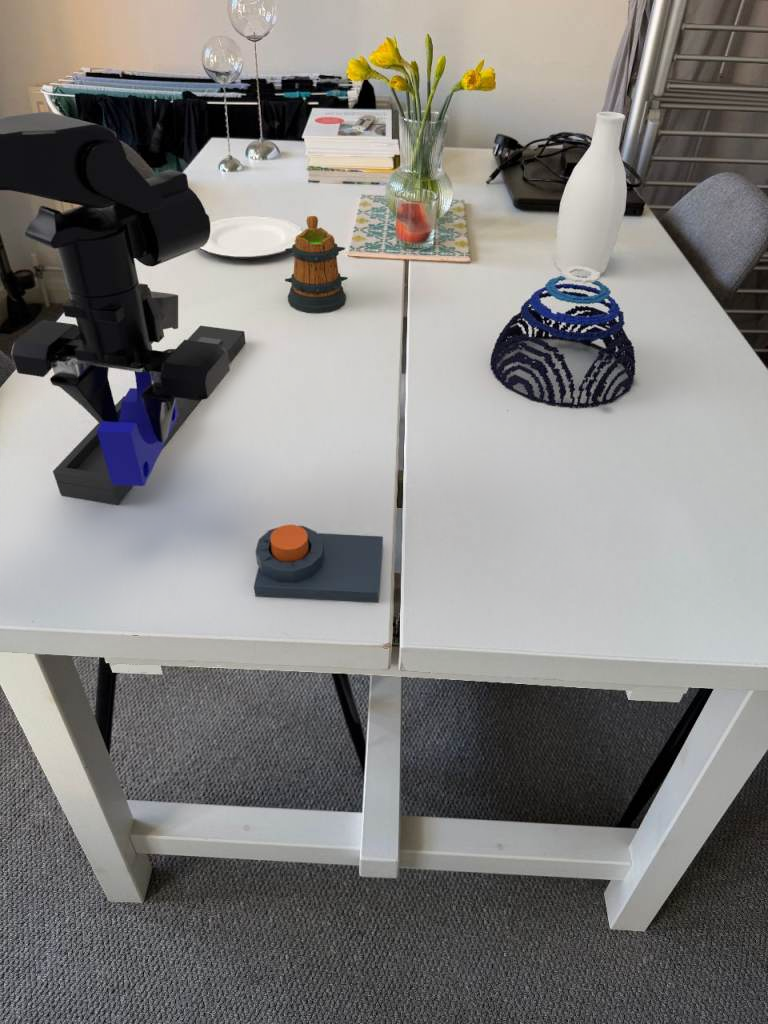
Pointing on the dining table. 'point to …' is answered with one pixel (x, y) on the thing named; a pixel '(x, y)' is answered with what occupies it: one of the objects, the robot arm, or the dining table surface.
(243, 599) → the dining table surface
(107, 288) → the robot arm
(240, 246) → the plate
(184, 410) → the power strip
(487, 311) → the dining table surface
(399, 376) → the dining table surface
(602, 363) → the decorative bowl
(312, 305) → the mug
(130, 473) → the cable clip
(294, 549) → the power button
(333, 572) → the switch block
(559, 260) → the bottle
